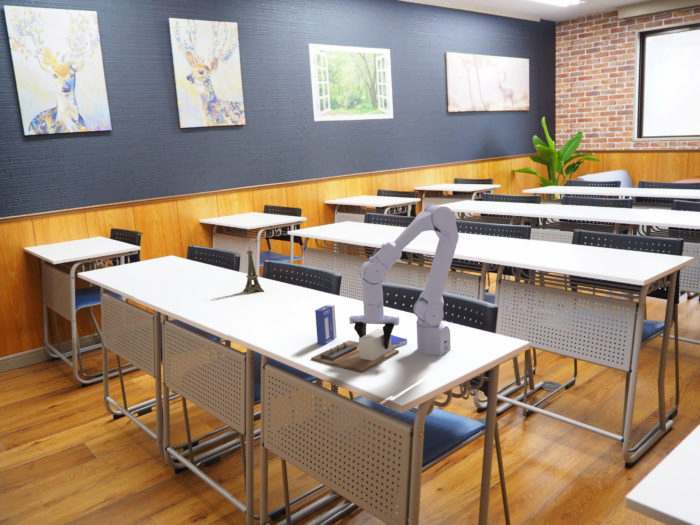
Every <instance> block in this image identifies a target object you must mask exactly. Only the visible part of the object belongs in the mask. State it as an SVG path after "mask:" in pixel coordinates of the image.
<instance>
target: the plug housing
mask: <svg viewBox="0 0 700 525" xmlns="http://www.w3.org/2000/svg"><path fill="white" fill-rule="evenodd" d="M358 342H359V351H360V358H362V359H367V360H372V361H373V360H375V359H377V358H379V357H380V356H382V355H384V354H386V353H387V352H389V351H391V350H392V348H391V336H390V340H389V347H388V349H385V347H384V332H383V328H376V329H375V330H373V331H371V332H368V333H366V335H365V336H363V337H361V338H359V337H358Z"/></svg>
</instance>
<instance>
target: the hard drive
mask: <svg viewBox="0 0 700 525" xmlns="http://www.w3.org/2000/svg"><path fill="white" fill-rule="evenodd" d="M407 344H408V339H407V338H405V337H399V336H396V335H394V334H391V348H392V349H395V348H398V347H401V346H404V345H407Z"/></svg>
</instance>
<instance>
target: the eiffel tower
mask: <svg viewBox="0 0 700 525" xmlns="http://www.w3.org/2000/svg"><path fill="white" fill-rule="evenodd" d="M250 247H251V246H250V244H248V249H249V250H247V251H246V254H248V255H247V256H248V257H247V258H248V259H247V261H248V262H247V275H246V278H247V280H246V284H245V285H244V286H245V287H244V288H243V292H248V295H252V293H253V292H255V291H257V292H259V293H265V290H264V289H263V288H262V287H261V286H262V285H260V282H259V279H258V277H259V276H258V274H257V273H256V269H255V263H254V259H253V254H254V252H253V250H251V248H250ZM252 282H253V283H252Z"/></svg>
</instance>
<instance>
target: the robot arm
mask: <svg viewBox="0 0 700 525" xmlns="http://www.w3.org/2000/svg"><path fill="white" fill-rule="evenodd" d="M427 231H434V232H435V234H436V236H437V238H438V241H437V246H436V249H435V254H434V256H433V258H432V259H433V260H432V264H431V267H430V270H429V274H428V278H427V282H426V285H425V287H424V289H423V291H422V292H421V293H420V295H419V297H418V299H417V300H416V302H415V303H414V305H413V313H414V315H415V316H416V317H417V319H416V339H417V340H416V341H417V342H416V343H417V346H416V347H417V352H419V353H421V354H427V355H428V354H429V355H436V356H440V357H441V356H442V355H444V354H446V353H448V352H449V351H451V331H450V328H449V326H447V325H444V324H442V321H443V320H444V316H445V315H444V305H445V301H444V297H443V294H444V290H445V287H446V283H447V279H448V276H449V273H450V269H451V265H452V262H453V259H454V255H455V252H456V249H457V245H458V242H459V237H460V235H459V232H458V226H457V216H456V214H455V213H454V212H453V210H452V209H451V208H450V207H448V206H445V205H443V206H442V205H438V204H433V203H432V204H428V205H426V206H425V207H424V209H423V210H421V211H420V212H419V213H417V215H416V217H414V219H413V220H412V221H411V223H410V224H408V225H407V226H406V228H405V229H404V230H403V231H402V232H401V233H400V234H399V235H398V237H397V238H396V239H395V240H393V242H392V241H389V242H388V241H387V242H386V243H382V244H381V245H380V249H379V250H378V251H377V252H376V253H375V254H374V255H373V256H370V257H369V261H365V262H363V263H362V264H361V266H360V269H359V271H358V273H359V276H360V277H361V278H362V280H361V281H362V299H363V301H362V302H363V303H362V304H363V314H362V315H361V314H359V315H351V316H350V317H349V318H348V319H349V324H350V325H354V326H353V329H354V330H355V332H356V333H357V335H358V339H359V338H361V337H363V336H365V335H367V324H368V325H369V324H370V325H383V326H382V330H383V332H384V347H385V349H388V347H389V340H390V336H391V335H392V332H393V330H394V327H395V326H399V324H400V316H390V315H385V314H384V292H383V280H384V279H385V273H386V272H388V271H389V269H391V267H393V266H394V265H395V263H397V262H398V260H400V258H402V255H403V254H402V253H403V250H404V249H405V248H406V247H407V246H408V245H409V244H410V243H411V242H412V241H414V240H415V239H416V238H417V237H418V236H419V235H420V234H421V233H422V232H427Z"/></svg>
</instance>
